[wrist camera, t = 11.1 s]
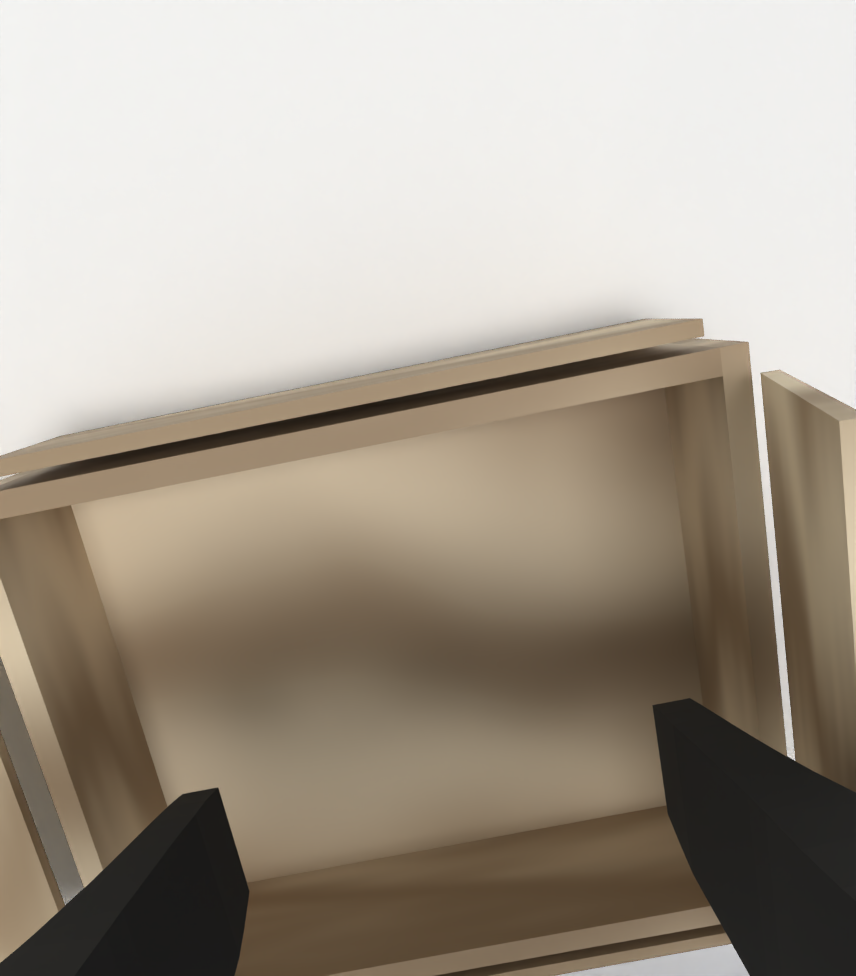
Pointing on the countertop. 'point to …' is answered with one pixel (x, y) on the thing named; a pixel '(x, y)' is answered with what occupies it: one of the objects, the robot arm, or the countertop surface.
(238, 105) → the countertop surface
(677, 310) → the countertop surface
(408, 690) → the carton
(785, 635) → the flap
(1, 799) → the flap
